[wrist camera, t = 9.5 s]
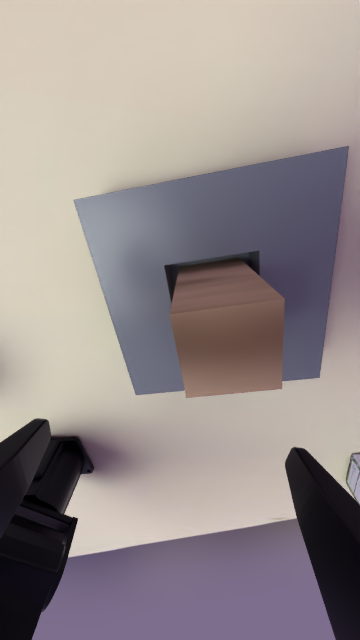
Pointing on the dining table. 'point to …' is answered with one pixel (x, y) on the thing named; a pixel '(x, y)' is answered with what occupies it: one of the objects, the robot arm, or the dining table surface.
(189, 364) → the oak peg
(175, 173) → the dining table surface
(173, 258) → the socket block
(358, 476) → the syrup box
